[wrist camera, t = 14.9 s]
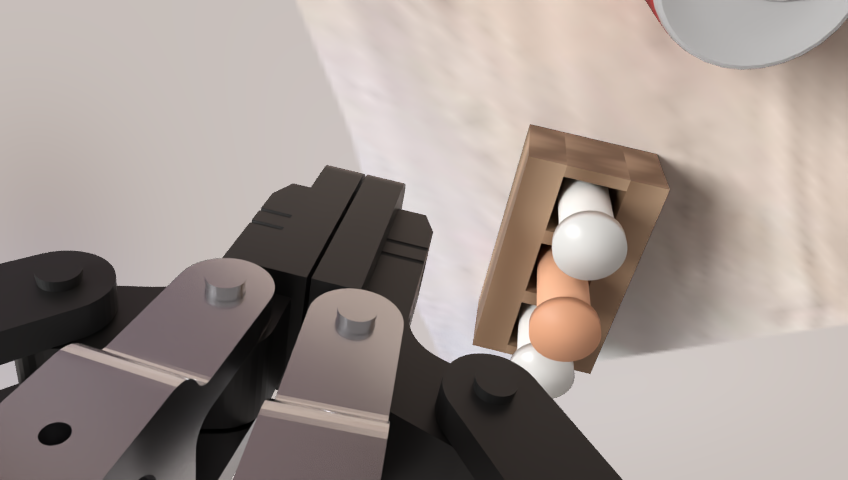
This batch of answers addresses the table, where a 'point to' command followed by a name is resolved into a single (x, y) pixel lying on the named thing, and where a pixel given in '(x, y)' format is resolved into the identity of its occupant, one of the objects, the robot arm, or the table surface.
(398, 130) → the table surface
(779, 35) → the canned food
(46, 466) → the robot arm
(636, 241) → the walnut block
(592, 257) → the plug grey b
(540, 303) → the plug terracotta
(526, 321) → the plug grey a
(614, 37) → the table surface
